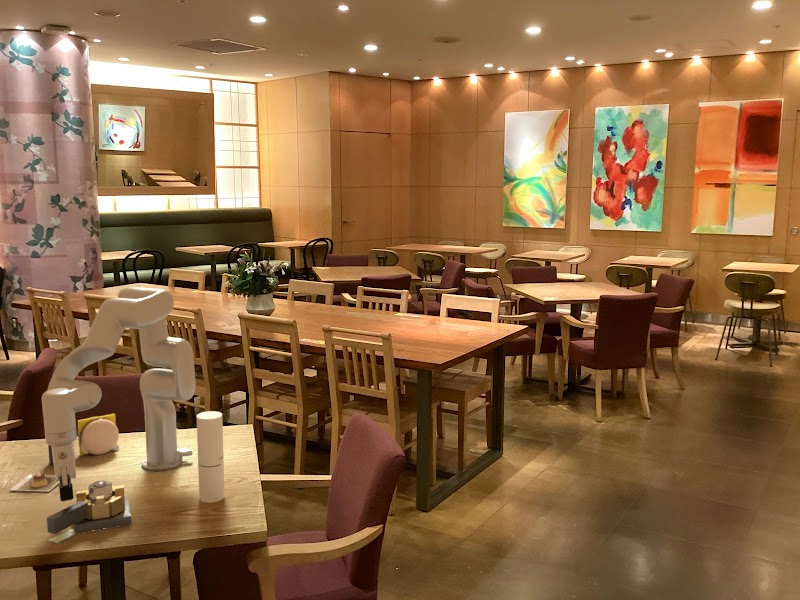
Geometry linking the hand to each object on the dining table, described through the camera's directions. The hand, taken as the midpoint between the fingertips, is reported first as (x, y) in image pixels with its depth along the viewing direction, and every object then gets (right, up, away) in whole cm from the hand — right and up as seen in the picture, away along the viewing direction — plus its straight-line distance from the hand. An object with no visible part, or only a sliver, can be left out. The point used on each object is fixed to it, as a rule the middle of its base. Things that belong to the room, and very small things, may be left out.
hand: (67, 499), depth 202 cm
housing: (+6, -6, 0) cm, 9 cm away
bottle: (-20, +1, +42) cm, 46 cm away
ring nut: (+6, -4, -3) cm, 8 cm away
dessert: (-19, -3, +24) cm, 31 cm away
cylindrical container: (+35, -4, +17) cm, 39 cm away
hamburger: (-11, +2, +50) cm, 51 cm away
